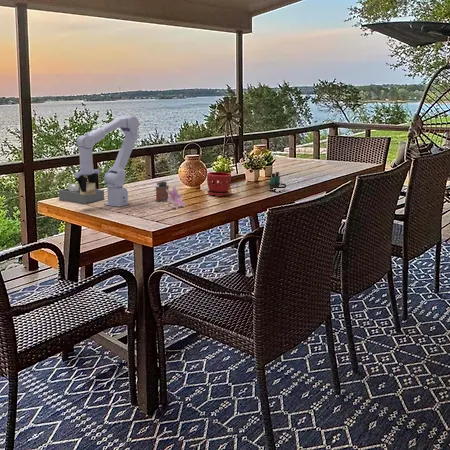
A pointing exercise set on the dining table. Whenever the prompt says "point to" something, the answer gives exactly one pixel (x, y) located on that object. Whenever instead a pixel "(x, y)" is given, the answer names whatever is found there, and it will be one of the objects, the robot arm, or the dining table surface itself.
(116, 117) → the robot arm
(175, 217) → the dining table surface
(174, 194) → the lily
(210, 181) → the plant pot
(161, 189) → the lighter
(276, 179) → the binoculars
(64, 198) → the tote
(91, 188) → the maple cube
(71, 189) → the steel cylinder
